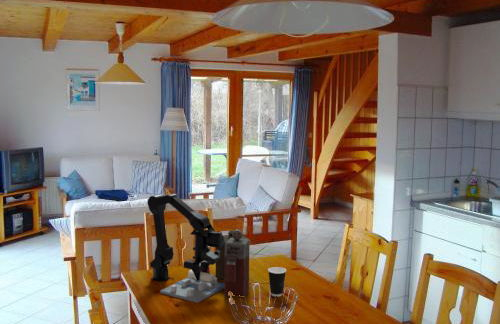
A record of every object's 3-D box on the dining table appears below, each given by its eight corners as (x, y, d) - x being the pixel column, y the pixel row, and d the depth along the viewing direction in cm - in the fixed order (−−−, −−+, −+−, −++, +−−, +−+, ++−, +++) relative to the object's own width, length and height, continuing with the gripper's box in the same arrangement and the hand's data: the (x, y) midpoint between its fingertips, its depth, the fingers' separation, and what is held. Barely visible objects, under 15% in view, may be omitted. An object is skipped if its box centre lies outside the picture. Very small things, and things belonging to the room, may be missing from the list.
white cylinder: (187, 279, 226) (187, 270, 225) (193, 277, 229) (193, 268, 229) (209, 284, 220) (209, 275, 219) (214, 282, 223) (214, 273, 223)
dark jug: (222, 297, 212) (223, 233, 209) (229, 288, 223) (229, 226, 220) (243, 299, 210) (244, 234, 207) (248, 290, 221) (249, 228, 218)
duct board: (160, 293, 216) (160, 284, 216) (191, 278, 235) (191, 271, 235) (197, 302, 206) (197, 294, 206) (227, 286, 225) (227, 278, 225)
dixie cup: (267, 291, 221) (267, 266, 219) (285, 291, 221) (285, 267, 219) (267, 297, 213) (268, 272, 212) (286, 298, 213) (286, 273, 212)
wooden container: (252, 274, 243) (252, 229, 240) (235, 283, 230) (235, 236, 228) (227, 268, 251) (227, 225, 248) (209, 276, 238) (209, 231, 236)
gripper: (203, 252, 211) (203, 288, 212) (227, 243, 227) (227, 276, 228) (182, 248, 216) (182, 283, 218) (207, 239, 232) (207, 272, 234)
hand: (201, 279), depth 225 cm, fingers closed on white cylinder, 4 cm apart
